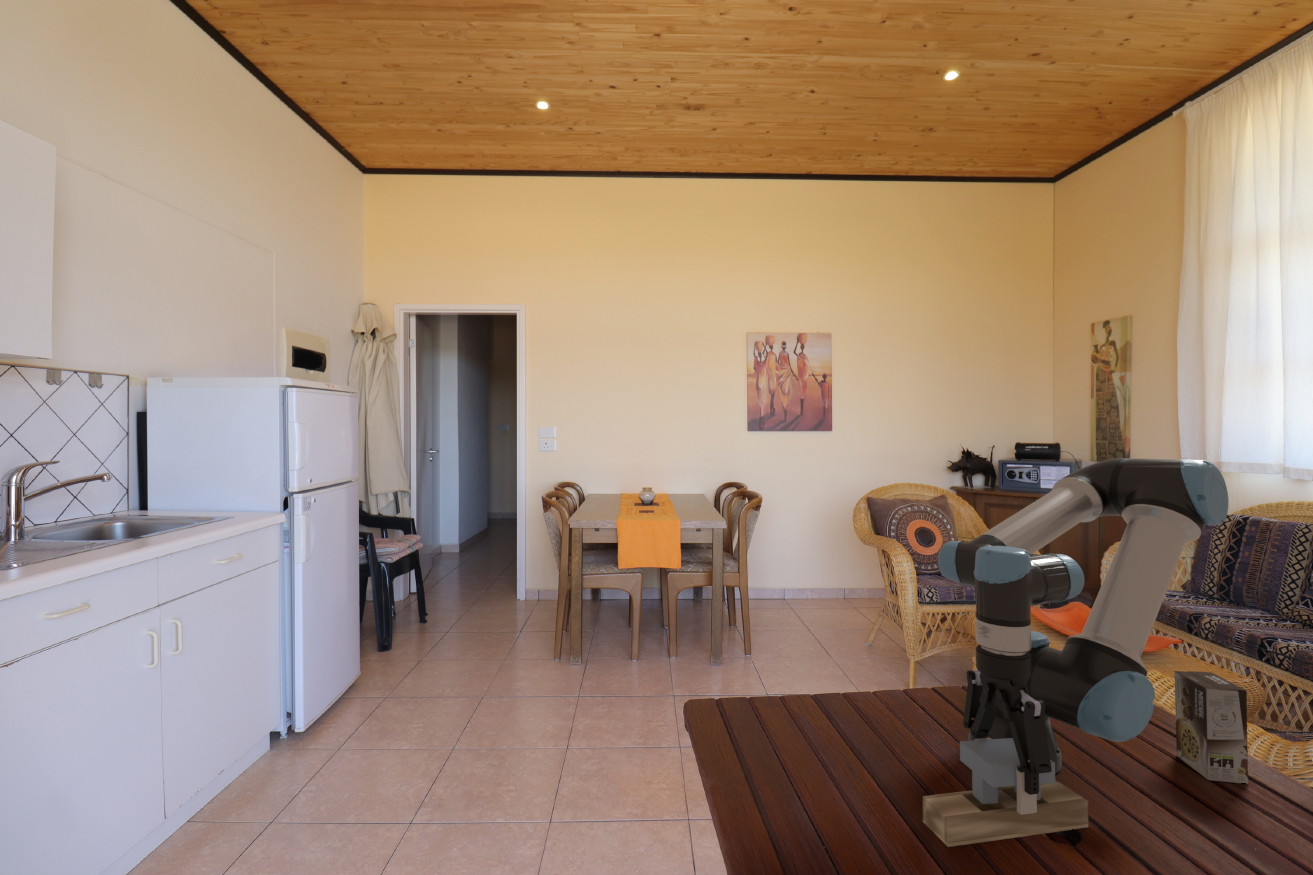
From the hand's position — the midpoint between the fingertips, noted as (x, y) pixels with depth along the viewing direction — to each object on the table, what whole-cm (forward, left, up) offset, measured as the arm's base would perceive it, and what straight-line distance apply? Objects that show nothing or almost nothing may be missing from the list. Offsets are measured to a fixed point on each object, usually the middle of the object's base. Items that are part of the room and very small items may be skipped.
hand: (1004, 794), depth 95 cm
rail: (0, 0, -5) cm, 5 cm away
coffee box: (-7, +48, -5) cm, 49 cm away
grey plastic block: (0, 0, 0) cm, 0 cm away
